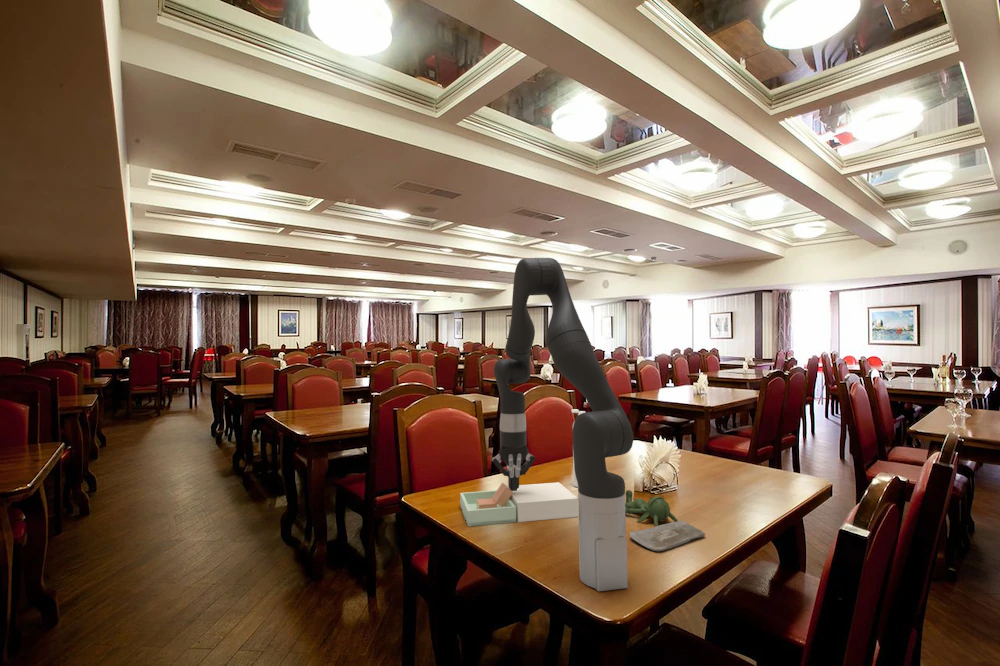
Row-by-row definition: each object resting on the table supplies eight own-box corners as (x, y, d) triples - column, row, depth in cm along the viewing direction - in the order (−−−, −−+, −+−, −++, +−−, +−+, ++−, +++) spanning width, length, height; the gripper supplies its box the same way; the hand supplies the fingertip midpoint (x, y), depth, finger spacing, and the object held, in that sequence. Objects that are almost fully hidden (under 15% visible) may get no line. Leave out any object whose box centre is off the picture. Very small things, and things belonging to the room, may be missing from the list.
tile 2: (513, 492, 131) (505, 487, 130) (502, 507, 130) (495, 502, 130) (509, 487, 136) (502, 482, 135) (499, 501, 135) (492, 497, 135)
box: (516, 522, 125) (516, 507, 125) (467, 526, 122) (467, 511, 122) (503, 503, 140) (503, 489, 140) (460, 506, 138) (460, 492, 138)
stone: (655, 551, 104) (624, 530, 113) (655, 563, 105) (624, 542, 113) (711, 529, 113) (677, 512, 122) (711, 541, 113) (677, 523, 122)
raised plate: (578, 516, 128) (577, 498, 128) (518, 522, 125) (517, 503, 125) (559, 498, 144) (558, 482, 144) (505, 503, 140) (504, 486, 141)
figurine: (636, 487, 140) (683, 494, 123) (639, 515, 138) (688, 526, 121) (605, 493, 135) (650, 501, 118) (608, 521, 134) (654, 533, 117)
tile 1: (479, 504, 129) (479, 514, 129) (496, 503, 130) (497, 512, 130) (476, 499, 134) (476, 508, 134) (493, 498, 135) (493, 506, 135)
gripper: (492, 432, 129) (493, 495, 128) (539, 429, 131) (540, 492, 131) (488, 427, 136) (488, 487, 135) (532, 425, 139) (532, 484, 138)
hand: (513, 490), depth 133 cm, fingers closed
